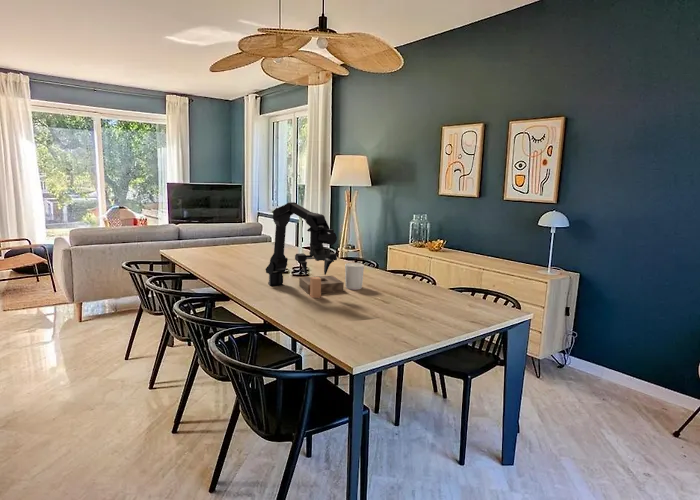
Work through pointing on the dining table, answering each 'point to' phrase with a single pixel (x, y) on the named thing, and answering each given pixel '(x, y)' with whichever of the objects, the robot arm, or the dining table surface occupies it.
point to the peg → (315, 287)
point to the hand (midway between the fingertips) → (315, 275)
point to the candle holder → (354, 275)
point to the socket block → (323, 284)
